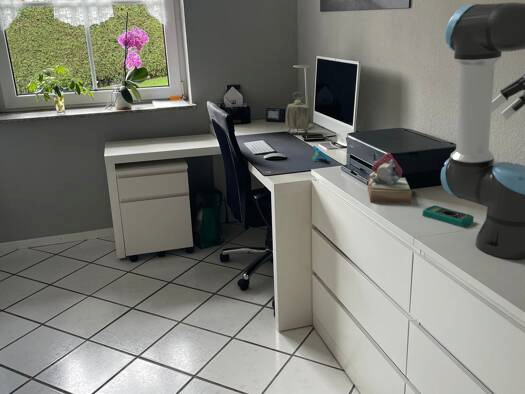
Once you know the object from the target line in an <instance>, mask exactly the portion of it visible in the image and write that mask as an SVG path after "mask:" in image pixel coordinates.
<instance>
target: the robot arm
mask: <svg viewBox="0 0 525 394" xmlns="http://www.w3.org/2000/svg"><path fill="white" fill-rule="evenodd" d="M444 35H445V43H446V44H447V47H448V49H450V50H451V51H453V52H454V54H453V55H454V57H453V59H454V61H455V62H456V63H457V64H458V65H459V77H458V78H459V79H458V80H459V81H458V98H457V99H458V101H457V103H458V104H457V119H456V120H457V124H456V146H455V147H456V149H455V150H454V151H453V152H451V153H450V156H449V158H448V159H447V160H445V162H444V163H443V165H444V166H443V167H442V168H441V171H440V181H441V185H442V188H443V189H444V191H446V193H448V194H449V195H451V196H454V197H455V198H456V199H461V200H466V201H468V202H471V203H474V204H478V205H480V206H481V205H482V206H484V207H487V209H486V217H485V220H484V222H483V224H482V225H481V227H480V229H479V231H478V232H477V235H476V237H475V246H476V247H477V249H479V250H480V251H481V252H484V253H485V254H488V255H491V256H494V257H498V258H503V259H509V260H525V165H523V164H521V163H513V162H509V161H501V162H496V163H494V162H495V161H494V160H495V155H494V153H493V152H491V150H490V148H489V147H490V135H491V134H490V133H491V118H492V113H493V112H494V111H496V110H497V109H498V108H499V107H500V106H501V105H502V104H504V103H505V102H506V101H509V98H510V97H512V96H514V95H517V94H518V93H520V92H522V91H523V94H521V95H520V96H518V98H517V99H516V100H515V101H514V102H512V103H511V104H510V105H509V106H507V107H506V108H505V109H504V110H503V111H502V112H500V114H501V116H503V118H504V119H505V120H506V121H508V120H509V119H511V117H512V116H514V114H516V113H517V112H518V111H519V110H521V109H522V108H523V107H525V73H524V74H523V75H522V76H520V77H519V78H518V79H516V80H515V81H513V82H512V83H510V84H508V85H507V86H505V87H504V88H502V89H500V91H499V92H500V94H499V95H498V96H497V97H495V98H494V99H493V89H494V73H495V64H496V63H497V62H498V61H499V60H500V59H501V58H502V53H504V52H505V53H506V52H507V53H509V52H516V51H521V50H525V2H513V1H512V2H499V3H497V2H496V3H474V4H469V5H464V6H461V7H460V8H458V9H457V10H456V11H455V12H454V13H453V15H452V16H451V17H450V19H449V20H448V22H447V25H446V28H445V34H444Z"/></svg>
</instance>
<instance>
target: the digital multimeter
mask: <svg viewBox="0 0 525 394" xmlns="http://www.w3.org/2000/svg"><path fill="white" fill-rule="evenodd" d="M422 217H425V218H429V219H432V220H437V221H440V222H443V223H447V224H451V225H454V226H457V227H460V228H464V227H468V226H469V225H471V224H473V223H474V218H475V217H474V215H472V214H469V213H465V212H461V211H457V210H453V209H449V208H445V207H442V206H439V205H435V204H434V205H431V206H428V207H426V208H424V209H423V210H422Z"/></svg>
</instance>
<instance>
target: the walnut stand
mask: <svg viewBox="0 0 525 394" xmlns="http://www.w3.org/2000/svg"><path fill="white" fill-rule="evenodd" d="M367 181H368V182H367V191H368V196H369V201H370V203H374V204H377V203H381V204H382V203H383V204H398V205H399V204H402V205H411V203H412V196H413V195H412V194H413V192H412V190H411V188H410V185H409V183H408V181H407V179H406V177H400V179H399V180H398V181H397V182H396V184H395V185H387V184H379V183H375V182H374V183H372V184H369V182H370V181H372V179H371V178H370V177H369V176H368V180H367Z"/></svg>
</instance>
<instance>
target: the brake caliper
mask: <svg viewBox="0 0 525 394" xmlns="http://www.w3.org/2000/svg"><path fill="white" fill-rule="evenodd" d="M402 174H403V169H402V168H401V166H400V165H399V163H398V162H397V160H396V159H395V158H394V157H393V154H391V153H390V152H387V153H386V154H384V155H383V156H382V157H381V158H379V160H377V161H376V162H375V163H374V164H373V165H372V172H371V173H370V174H369V176H368V178H369V177H370V178H371V179H372V181H370V182H369V184H372V183H374V182H375V183H379V184H387V185H395V184H396V182H397V181H398V180H399V179H400V178H402Z"/></svg>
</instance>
